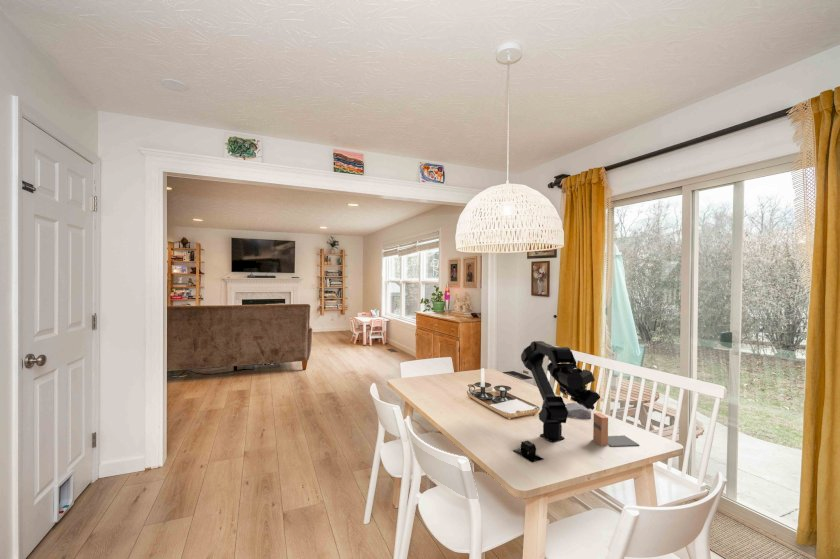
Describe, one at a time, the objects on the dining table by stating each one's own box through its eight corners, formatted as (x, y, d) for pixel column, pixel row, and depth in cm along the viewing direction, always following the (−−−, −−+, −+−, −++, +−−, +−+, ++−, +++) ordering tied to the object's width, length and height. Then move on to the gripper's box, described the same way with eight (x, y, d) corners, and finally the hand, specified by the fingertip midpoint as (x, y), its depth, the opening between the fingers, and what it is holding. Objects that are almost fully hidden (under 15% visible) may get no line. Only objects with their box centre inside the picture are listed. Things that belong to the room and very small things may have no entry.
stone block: (569, 421, 163) (593, 419, 161) (567, 410, 163) (591, 408, 161) (564, 413, 174) (587, 410, 172) (562, 403, 175) (585, 400, 173)
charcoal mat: (611, 446, 134) (611, 445, 134) (597, 437, 142) (597, 436, 142) (639, 445, 136) (639, 444, 136) (624, 436, 143) (624, 435, 143)
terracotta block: (600, 445, 135) (600, 418, 135) (592, 439, 140) (592, 413, 140) (607, 445, 136) (608, 417, 136) (599, 439, 141) (599, 412, 141)
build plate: (549, 462, 123) (549, 448, 123) (533, 467, 120) (533, 452, 120) (523, 446, 134) (523, 434, 134) (507, 451, 131) (507, 438, 131)
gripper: (595, 369, 128) (624, 401, 129) (567, 358, 146) (593, 385, 147) (573, 393, 127) (603, 424, 128) (547, 378, 145) (574, 406, 146)
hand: (593, 408), depth 137 cm, fingers closed
